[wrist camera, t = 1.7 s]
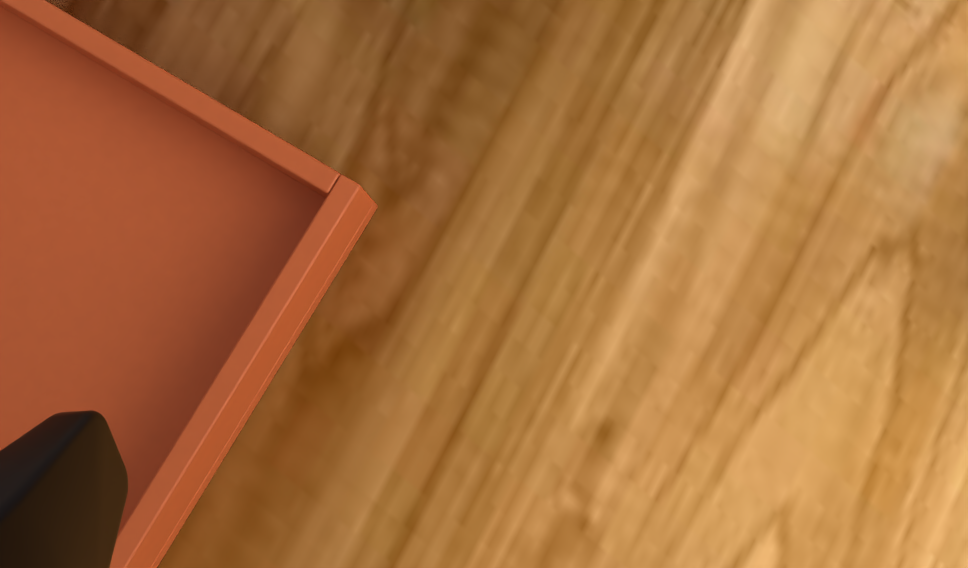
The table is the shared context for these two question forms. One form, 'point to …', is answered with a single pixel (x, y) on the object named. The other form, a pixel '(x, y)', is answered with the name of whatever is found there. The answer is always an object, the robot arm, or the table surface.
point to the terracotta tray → (149, 259)
